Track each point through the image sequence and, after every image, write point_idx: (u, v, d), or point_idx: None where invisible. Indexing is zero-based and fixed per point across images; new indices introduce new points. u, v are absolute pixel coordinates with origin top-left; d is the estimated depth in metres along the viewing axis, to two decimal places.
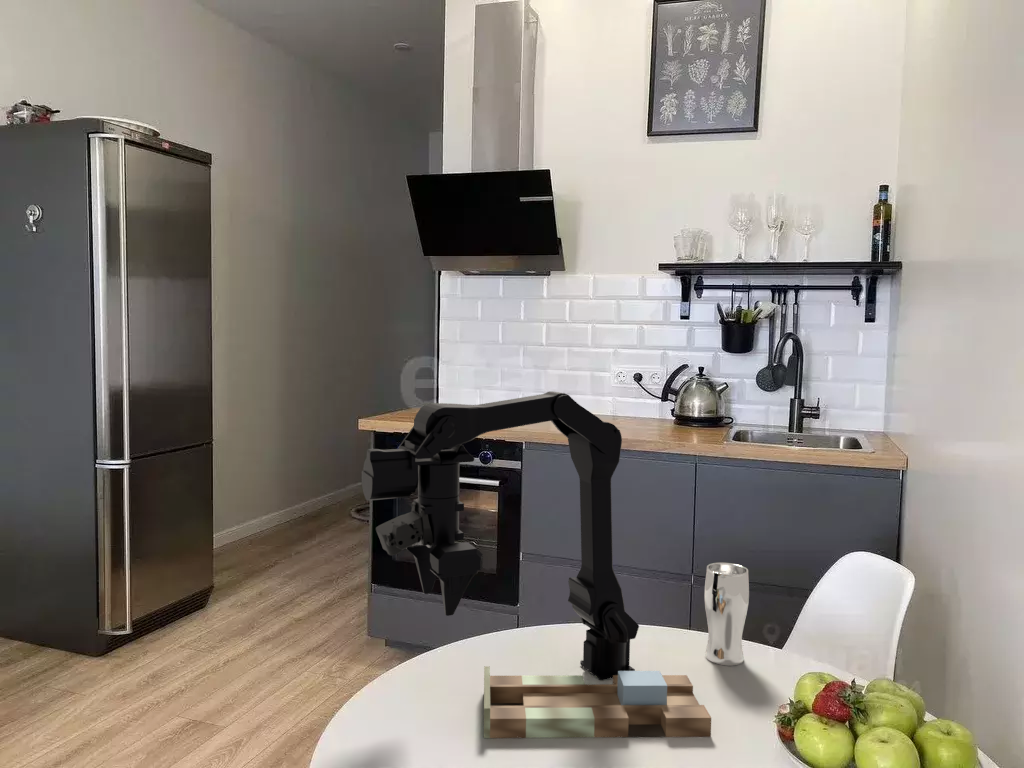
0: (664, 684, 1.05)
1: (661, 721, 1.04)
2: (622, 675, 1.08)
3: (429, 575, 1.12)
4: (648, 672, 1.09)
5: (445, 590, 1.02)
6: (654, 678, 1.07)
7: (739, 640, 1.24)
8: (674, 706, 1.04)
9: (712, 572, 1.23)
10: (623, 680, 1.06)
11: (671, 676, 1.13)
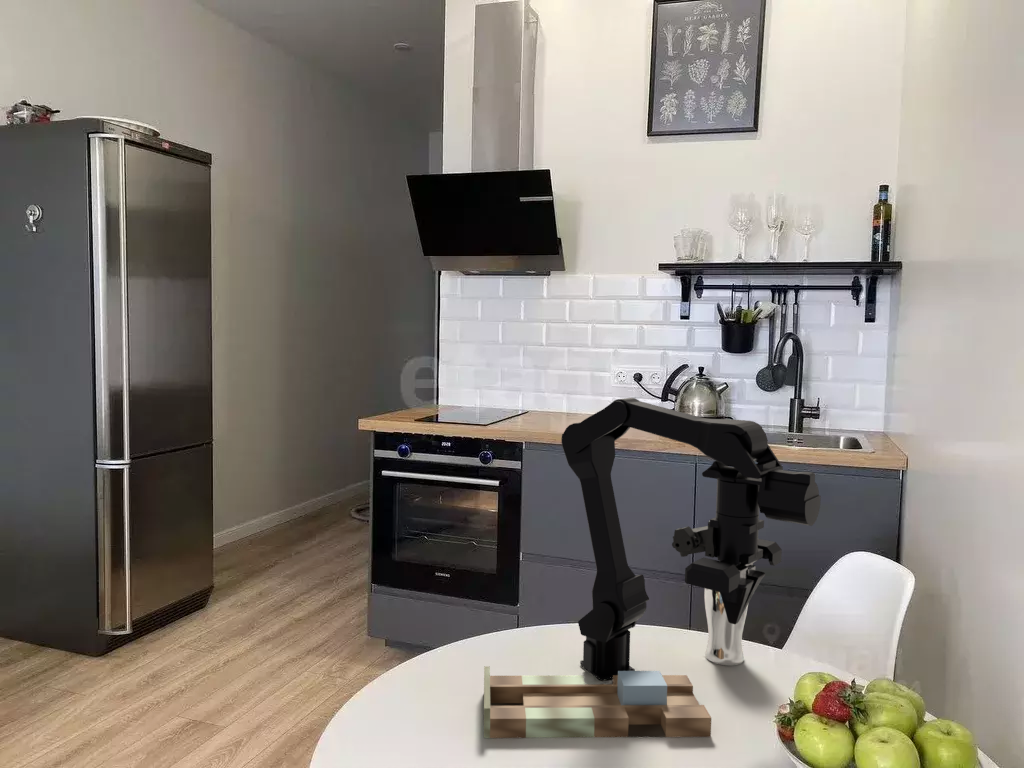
0: (664, 684, 1.05)
1: (661, 721, 1.04)
2: (622, 675, 1.08)
3: None
4: (648, 672, 1.09)
5: (721, 595, 1.06)
6: (654, 678, 1.07)
7: (739, 640, 1.24)
8: (674, 706, 1.04)
9: None
10: (623, 680, 1.06)
11: (671, 676, 1.13)
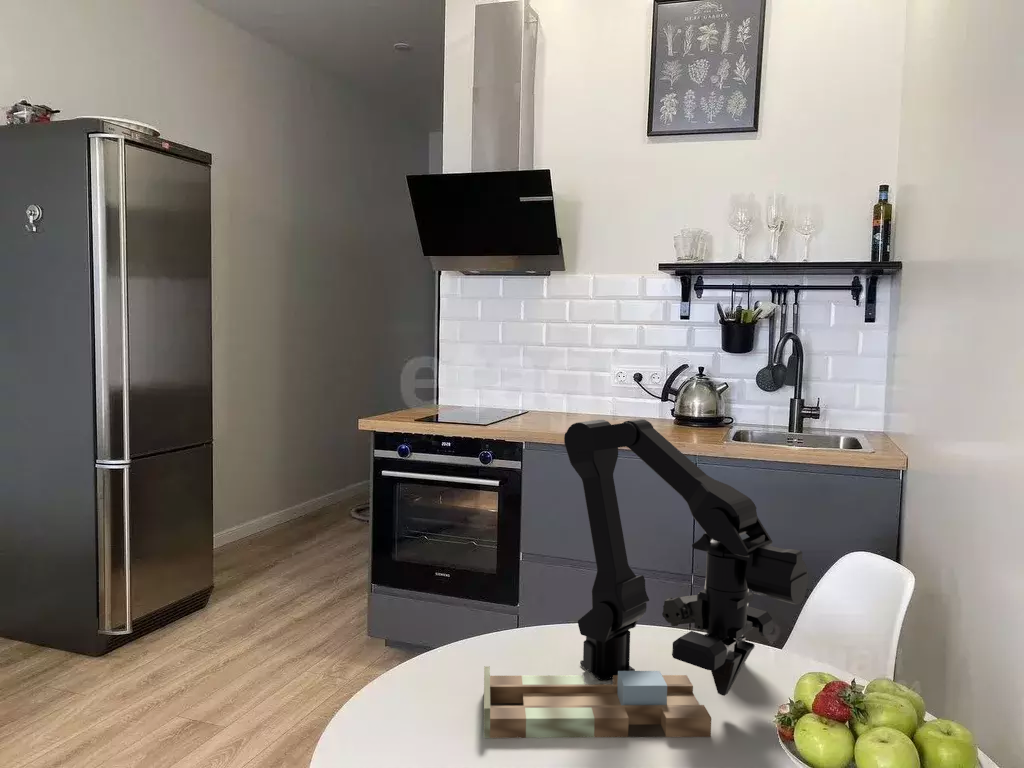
0: (664, 684, 1.05)
1: (661, 721, 1.04)
2: (622, 675, 1.08)
3: None
4: (648, 672, 1.09)
5: None
6: (654, 678, 1.07)
7: None
8: (674, 706, 1.04)
9: None
10: (623, 680, 1.06)
11: (671, 676, 1.13)
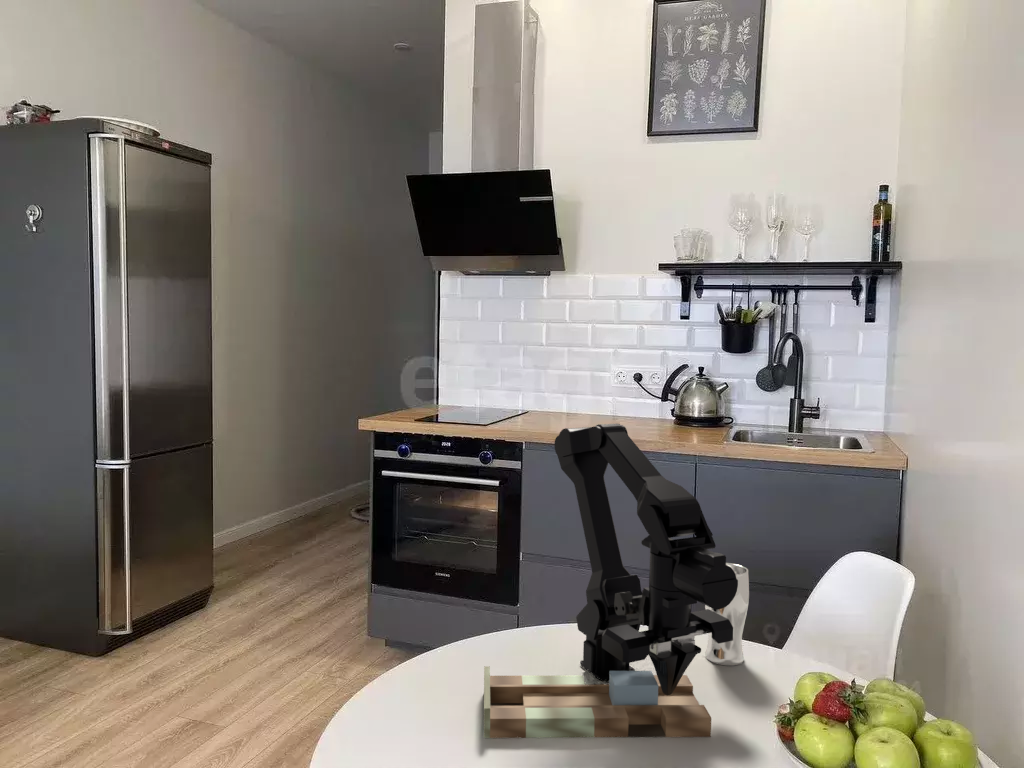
0: (655, 684, 1.05)
1: (661, 721, 1.04)
2: (614, 675, 1.08)
3: None
4: (640, 672, 1.09)
5: None
6: (645, 678, 1.07)
7: (739, 640, 1.24)
8: (674, 706, 1.04)
9: None
10: (614, 680, 1.06)
11: None
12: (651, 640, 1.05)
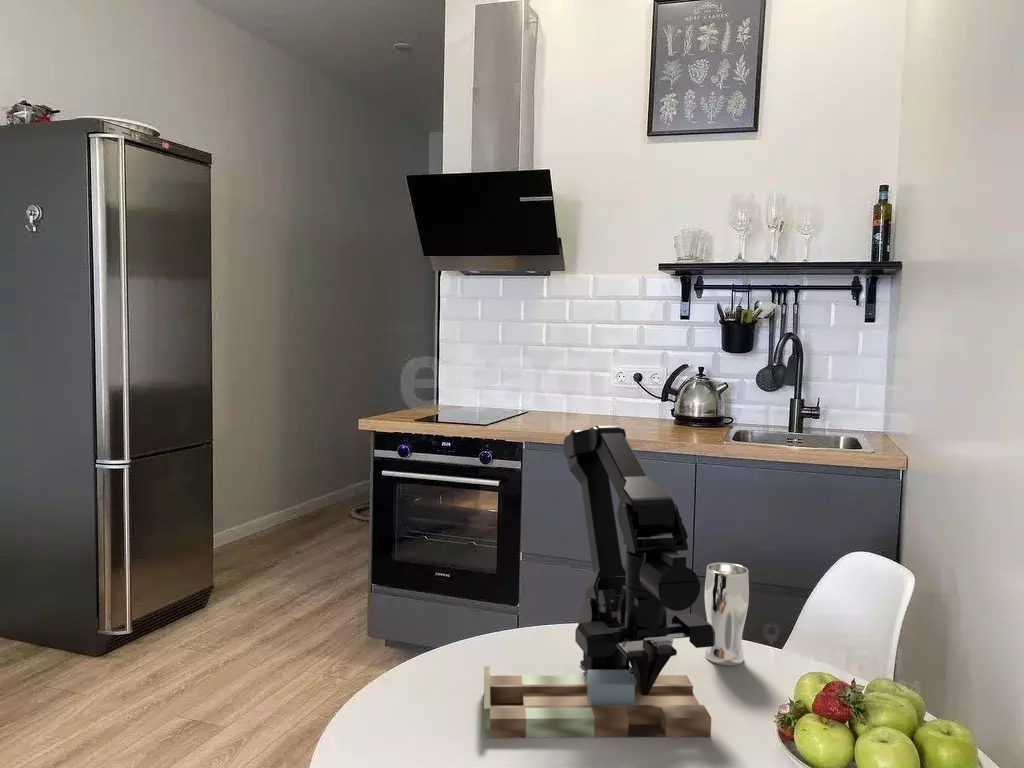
0: (632, 683, 1.05)
1: (661, 721, 1.04)
2: (591, 674, 1.08)
3: None
4: (618, 671, 1.09)
5: (630, 663, 1.07)
6: (622, 677, 1.07)
7: (739, 640, 1.24)
8: (674, 706, 1.04)
9: (712, 572, 1.23)
10: (591, 679, 1.06)
11: (671, 676, 1.13)
12: (624, 638, 1.05)
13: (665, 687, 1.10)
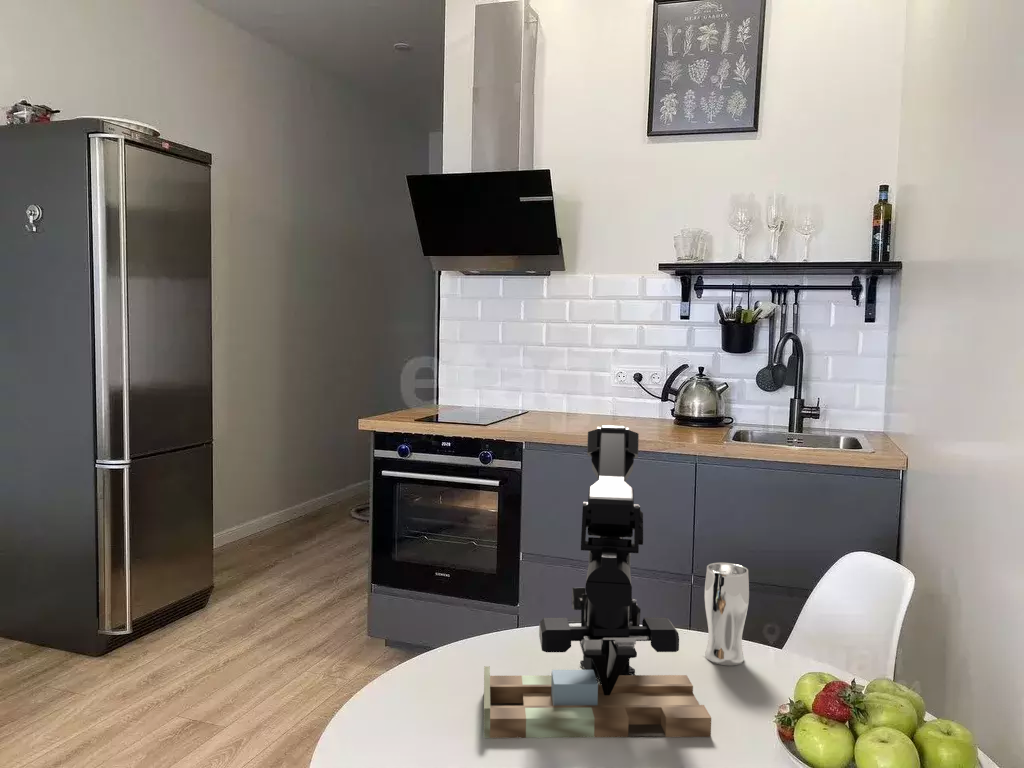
0: (595, 683, 1.05)
1: (661, 721, 1.04)
2: (555, 674, 1.08)
3: (608, 676, 1.06)
4: (582, 671, 1.09)
5: None
6: (586, 677, 1.07)
7: (739, 640, 1.24)
8: (674, 706, 1.04)
9: (712, 572, 1.23)
10: (555, 679, 1.06)
11: (671, 676, 1.13)
12: None
13: (665, 687, 1.10)
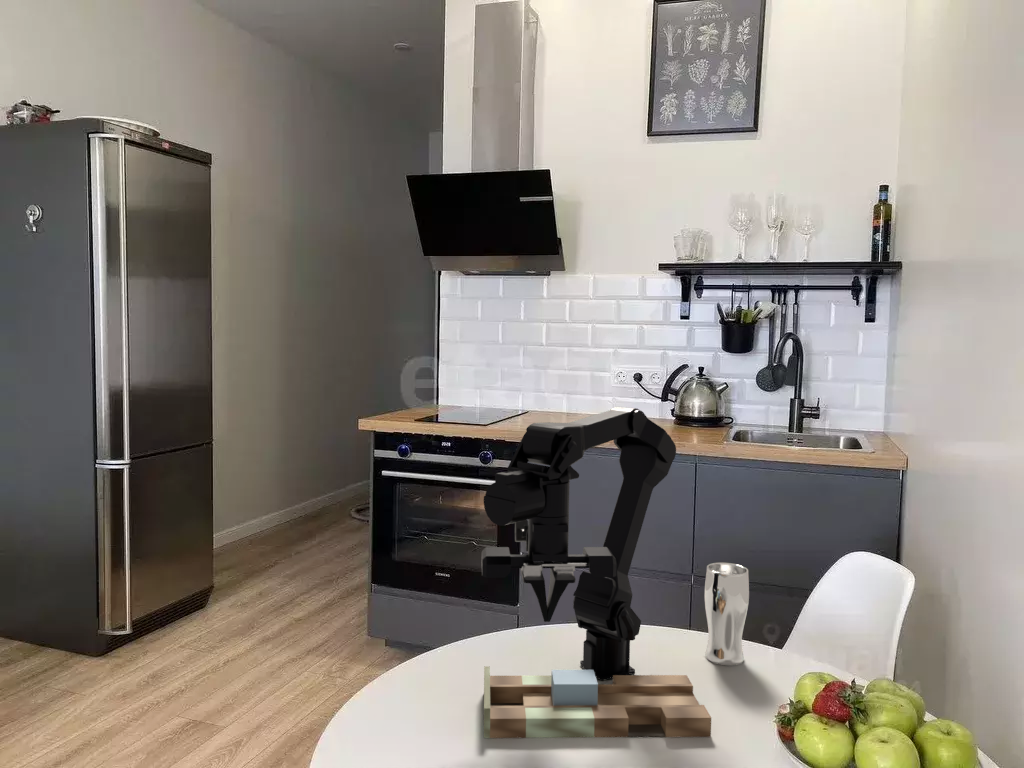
0: (595, 683, 1.05)
1: (661, 721, 1.04)
2: (555, 674, 1.08)
3: (548, 603, 1.09)
4: (582, 671, 1.09)
5: None
6: (586, 677, 1.07)
7: (739, 640, 1.24)
8: (674, 706, 1.04)
9: (712, 572, 1.23)
10: (555, 679, 1.06)
11: (671, 676, 1.13)
12: None
13: (665, 687, 1.10)
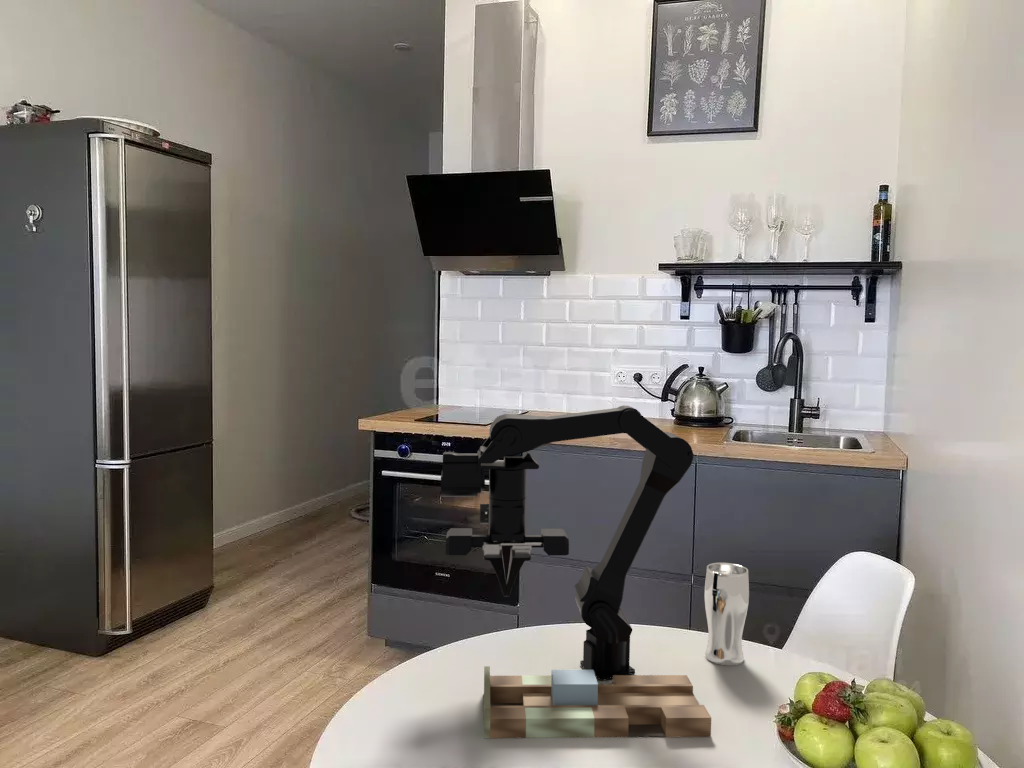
0: (595, 683, 1.05)
1: (661, 721, 1.04)
2: (555, 674, 1.08)
3: (507, 579, 1.19)
4: (582, 671, 1.09)
5: None
6: (586, 677, 1.07)
7: (739, 640, 1.24)
8: (674, 706, 1.04)
9: (712, 572, 1.23)
10: (555, 679, 1.06)
11: (671, 676, 1.13)
12: None
13: (665, 687, 1.10)
